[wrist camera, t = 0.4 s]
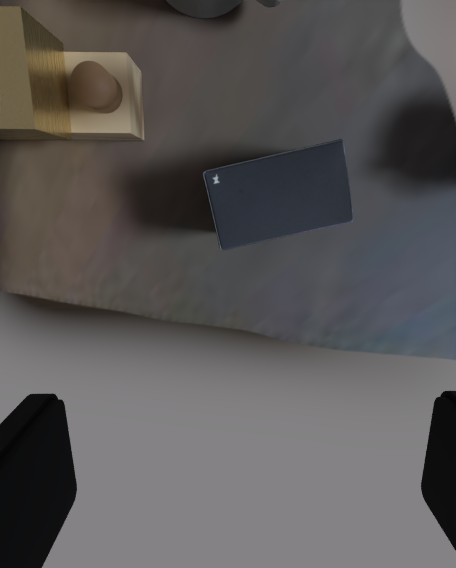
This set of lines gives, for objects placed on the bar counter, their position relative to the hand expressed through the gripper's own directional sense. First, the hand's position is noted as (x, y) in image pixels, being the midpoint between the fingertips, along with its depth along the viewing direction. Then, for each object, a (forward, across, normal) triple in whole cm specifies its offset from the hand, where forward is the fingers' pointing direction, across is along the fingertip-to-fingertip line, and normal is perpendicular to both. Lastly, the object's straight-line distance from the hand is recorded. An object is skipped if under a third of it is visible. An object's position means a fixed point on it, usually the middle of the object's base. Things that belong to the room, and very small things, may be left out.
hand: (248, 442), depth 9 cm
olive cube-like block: (+25, +17, -14) cm, 33 cm away
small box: (+30, -3, -5) cm, 31 cm away
